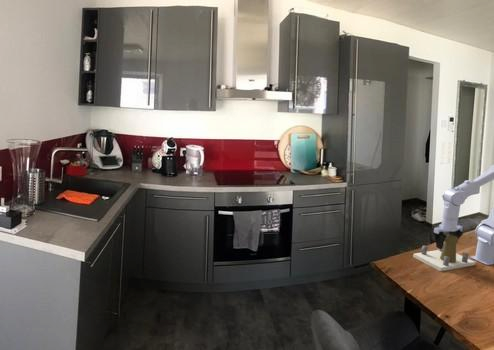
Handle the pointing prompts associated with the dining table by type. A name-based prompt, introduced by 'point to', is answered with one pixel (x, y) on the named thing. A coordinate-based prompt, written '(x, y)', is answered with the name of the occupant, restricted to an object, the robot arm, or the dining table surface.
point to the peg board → (435, 261)
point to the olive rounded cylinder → (450, 248)
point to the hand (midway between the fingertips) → (445, 247)
